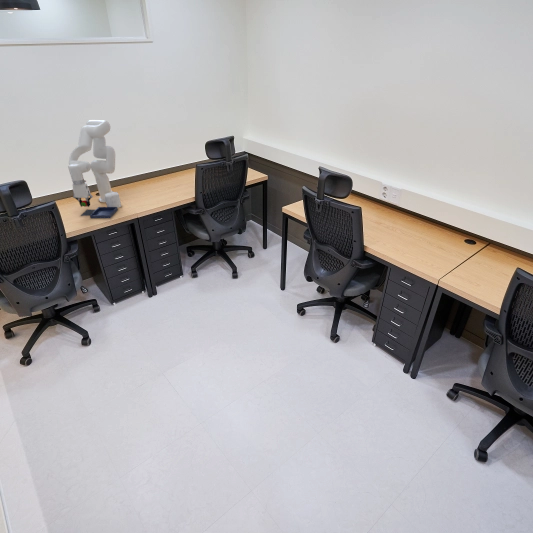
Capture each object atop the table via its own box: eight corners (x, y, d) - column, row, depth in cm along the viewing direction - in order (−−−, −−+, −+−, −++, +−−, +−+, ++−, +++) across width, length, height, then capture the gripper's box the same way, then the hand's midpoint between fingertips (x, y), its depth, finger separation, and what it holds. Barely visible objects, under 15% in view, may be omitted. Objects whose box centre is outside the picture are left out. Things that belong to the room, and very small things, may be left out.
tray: (99, 210, 268) (98, 206, 267) (118, 210, 268) (117, 207, 267) (90, 218, 256) (89, 215, 254) (110, 218, 255) (109, 215, 254)
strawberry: (85, 203, 264) (84, 198, 261) (91, 203, 264) (89, 198, 261) (80, 207, 257) (79, 202, 255) (86, 207, 257) (84, 202, 255)
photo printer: (120, 205, 276) (117, 190, 269) (122, 207, 273) (118, 192, 266) (107, 208, 271) (103, 193, 264) (108, 210, 268) (104, 194, 261)
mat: (87, 210, 268) (87, 209, 268) (96, 210, 268) (96, 209, 268) (80, 216, 259) (80, 215, 259) (90, 216, 259) (89, 215, 259)
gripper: (92, 180, 253) (99, 204, 263) (69, 180, 253) (76, 204, 263) (88, 183, 247) (94, 208, 256) (64, 183, 247) (71, 208, 257)
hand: (85, 205), depth 260 cm, fingers closed on strawberry, 4 cm apart
